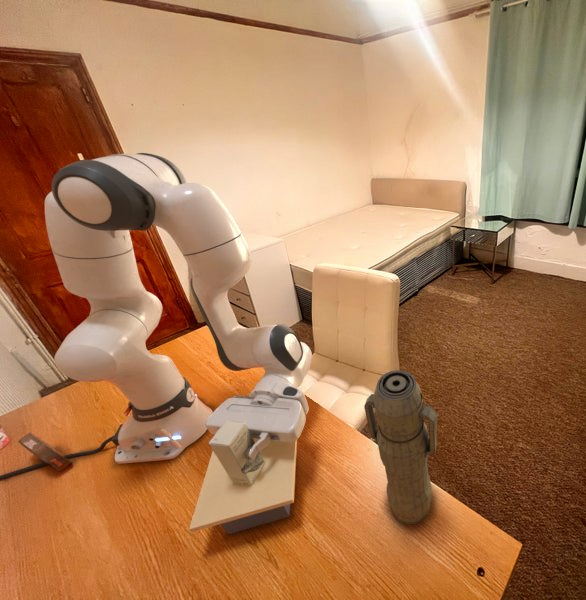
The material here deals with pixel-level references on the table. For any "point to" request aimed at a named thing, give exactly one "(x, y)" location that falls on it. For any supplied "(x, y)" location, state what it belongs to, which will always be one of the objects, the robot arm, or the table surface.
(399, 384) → the thermos
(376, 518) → the table surface
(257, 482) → the stand
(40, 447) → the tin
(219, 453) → the box
